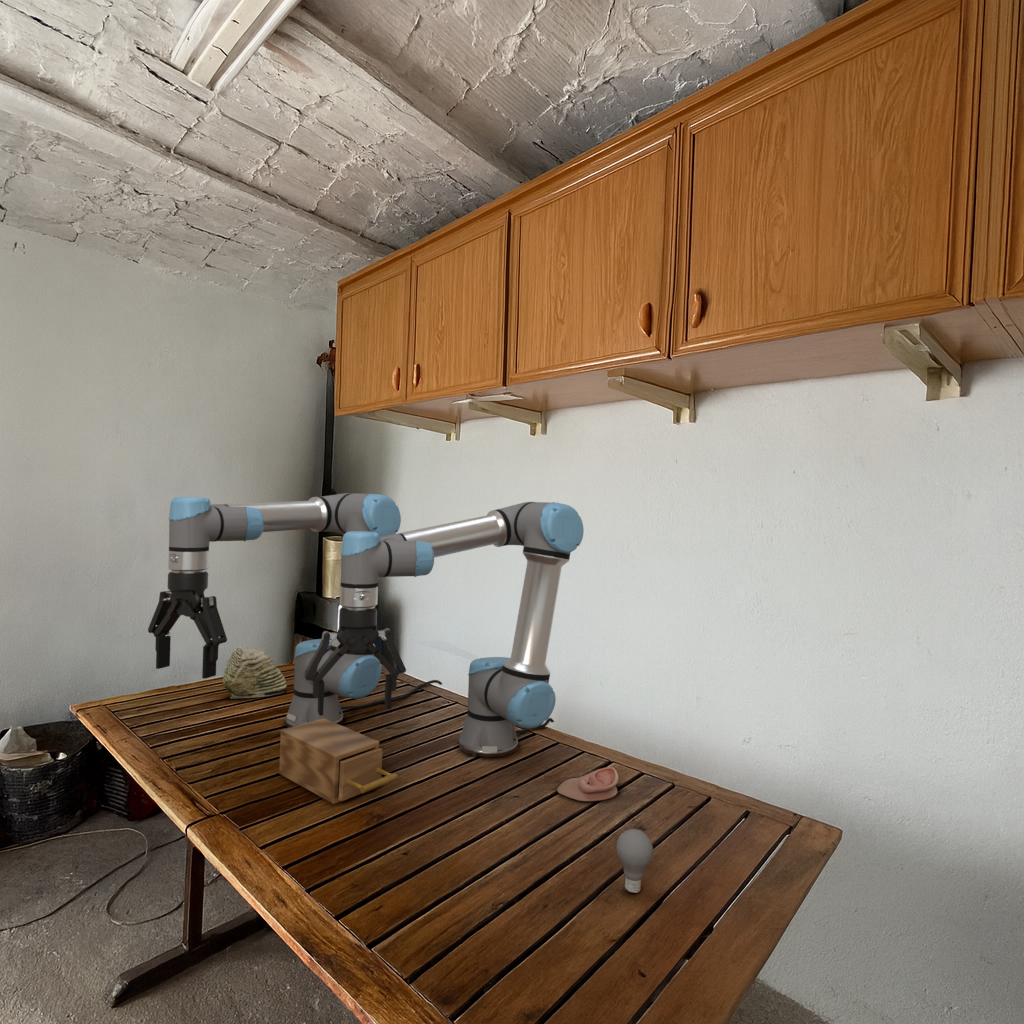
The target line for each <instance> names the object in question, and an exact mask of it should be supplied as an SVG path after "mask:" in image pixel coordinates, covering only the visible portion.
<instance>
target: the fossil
mask: <svg viewBox="0 0 1024 1024" xmlns="http://www.w3.org/2000/svg"><path fill="white" fill-rule="evenodd" d="M222 676H223V677H222V685H223V687H224V688H225V690H226V691H228V693H229V698H230V699H250V698H264V697H271V696H275V695H281V694H284V693H285V691H286V689H287V687H288V686H287V680H286V678H285V676H284V674H283V673H282V672H281V669H279V668H278V667H277V665H276V663H275V662H274V660H273V659H272V658H271V657H270V656H269V655H268V654H267V653H266V652H265V650H264V649H263V648H260V647H258V648H251V647H247V646H246V647H245V646H238V647H237V648H236V649H235V650H233V651H232V653H231V656H230V657H229V659H228V660H227V663H226V666H225V668H224V671H223V675H222Z"/></svg>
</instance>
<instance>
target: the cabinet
mask: <svg viewBox="0 0 1024 1024" xmlns="http://www.w3.org/2000/svg"><path fill="white" fill-rule="evenodd" d="M279 741H280V744H279V767H278V774H279V775H281V776H282V777H284V778H286V779H287V780H290V781H292V782H293V783H295V784H297V785H299V786H300V787H302V788H304V789H306V790H308V791H309V792H311V793H313V794H315V795H317V796H318V797H319V798H322V799H324V800H325V801H328V802H329V803H331V804H332V805H335V804H338V803H340V802H341V801H340V800H339V794H338V780H339V760H340V759H343V758H346V757H349V756H352V755H354V754H357V753H360V752H363V751H366V750H369V749H371V751H372V750H374V749H377V748H380V741H379V740H376V739H374V738H372V737H369V736H367V735H365V734H363V733H360V732H358V731H356V730H353V729H351V728H348V727H347V726H344V725H342V724H340V725H339V724H337V723H334V722H332V721H329V720H327V719H325V718H323V719H319V720H316V721H312V722H309V723H305V724H301V725H298V726H294V727H291V728H288V727H286V728H284V729H280V740H279Z"/></svg>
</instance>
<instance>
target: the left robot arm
mask: <svg viewBox="0 0 1024 1024" xmlns="http://www.w3.org/2000/svg"><path fill="white" fill-rule="evenodd" d="M401 517H402V516H401V510H400V509H399V506H398V505H397V504H396V502H395V501H394V499H393V498H391V497H390V496H388V495H384V494H378V493H359V492H357V493H356V492H346V493H345V492H344V493H338V494H329V495H324V496H313V497H310V498H309V499H308V500H293V501H264V502H263V501H262V502H240V503H237V502H236V503H222V504H221V503H215V504H214V503H213V504H212V503H211V499H210V498H208V497H198V496H197V497H196V496H175V497H173V498H172V499H171V501H170V505H169V515H168V521H169V522H168V523H169V524H168V532H169V533H168V567H167V569H168V570H170V571H169V572H168V573H167V590H164V591H160V593H159V598H158V604H157V605H156V608H155V610H154V613H153V615H152V618H151V621H150V623H149V626H148V628H147V632H148V633H149V634H152V635H153V636H154V638H155V647H154V648H155V652H156V654H155V669H157V670H159V669H164V668H168V667H170V666H171V639H172V638H171V632H170V631H171V630H172V628H173V627H174V626H175V624H176V622H177V621H178V620H179V619H180V617H181V616H184V617H188V618H189V619H190V620H192V621H193V622H194V624H195V625H196V626H195V627H197V630H198V632H199V634H200V636H201V637H202V639H203V641H204V643H205V644H204V645H203V646H202V672H201V673H202V674H201V678H202V679H203V680H204V679H209V678H212V677H216V676H217V661H218V659H219V646H220V645H221V644H225V643H227V641H228V638H227V634H226V631H225V628H224V625H223V622H222V620H221V619H222V618H221V616H220V613H219V609H218V605H217V603H218V602H217V596H215V595H211V596H205V591H206V590H207V589H209V588H208V587H209V573H208V571H206V570H208V569H209V568H210V566H209V565H210V543H211V542H212V543H215V542H246V541H255V540H257V539H259V538H260V537H261V536H262V534H263V533H271V532H283V531H285V532H286V531H298V530H311V531H312V532H315V533H318V532H319V533H321V532H326V533H336V534H342V535H344V534H345V533H347V532H350V531H367V532H377V533H379V535H380V536H387V535H392V534H397V533H398V532H399V530H400V527H401V522H402V518H401ZM379 579H380V578H379ZM379 579H378V581H379ZM342 607H343V606H341V608H342ZM374 607H375V608H376V606H374ZM321 639H322V638H317V639H316V638H315V639H308V640H304V641H300V642H299V643H298V644H297V645H296V646H295V650H294V651H295V652H294V655H293V658H294V672H293V695H292V696H293V697H292V699H291V702H290V704H289V708H288V711H287V713H286V715H285V726H286V728H291V727H294V726H298V725H301V724H305V723H309V722H312V721H316V720H319V719H323V718H325V719H327V720H329V721H332V722H334V723H337V724H339V725H342V723H343V722H344V713H343V711H344V710H357V709H364V708H367V707H372V706H376V705H378V704H383V703H384V704H385V698H384V699H379V700H375V701H371V702H367V703H364V704H358V705H357V704H356V705H343V706H341V702H340V699H339V696H341V697H343V698H345V699H352V700H360V699H364V698H366V697H368V696H369V695H370V694H371V693H372V692H373V690H375V689H376V688H377V686H378V684H379V682H380V680H381V677H382V671H383V668H382V663H381V662H380V661H379V660H378V659H377V657H376V656H375V655H374V654H373V653H372V652H371V651H370V649H369V650H368V651H367V652H365V653H359V652H357V653H354V654H350V653H348V652H346V653H345V654H344V655H343V656H342V657H341V658H340V659H339V660H338V661H337V662H336V663H335V665H334V666H333V667H332V668H331V669H330V670H329V672H328V673H327V674H326V675H325V676H324V677H323V681H324V707H323V715H321V716H319V714H318V698H314V696H313V681H311V680H306V679H305V676H304V672H305V670H306V669H307V667H308V665H309V663H310V661H311V659H312V658H313V656H314V654H315V652H316V650H317V648H318V646H319V645H320V643H321ZM339 644H340V643H339V641H338V640H337V638H336V639H334V640H333V642H332V643H329V645H328V648H327V650H326V652H325V653H324V655H323V657H322V659H321V661H320V663H319V665H318V666H317V668H316V670H315V672H314V673H316V672H317V671H318V669H319V668H320V667H321V666H322V665H323V664H324V662H325V661H326V660H327V659H328V658H329V657H330V656H331V654H332V653H333V652H334V651H335V649H336V648H337V647H338V645H339ZM373 645H374V646H375V647H376V645H375V643H374V644H373ZM430 684H438V685H441V686H442V685H443V682H442V681H440V680H438V679H432V680H428V681H426V682H424V683H421V684H419V685H417V686H415V687H414V688H413V689H411V690H410V691H408V692H407V693H404V694H401V695H398V696H395V697H391V702H395V701H398V700H402V699H405V698H407V697H409V696H410V695H412V694H414V693H415V692H416V691H418V690H419V689H420V688H423V687H425V686H428V685H430Z"/></svg>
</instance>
